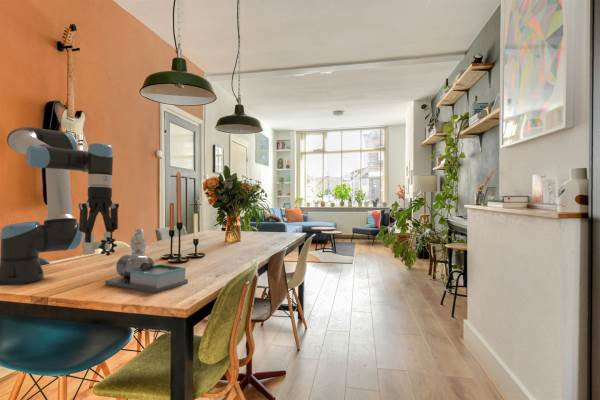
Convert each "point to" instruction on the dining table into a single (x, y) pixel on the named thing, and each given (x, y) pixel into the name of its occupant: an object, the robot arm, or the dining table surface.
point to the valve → (100, 246)
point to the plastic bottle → (138, 243)
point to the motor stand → (146, 275)
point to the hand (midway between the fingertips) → (98, 250)
